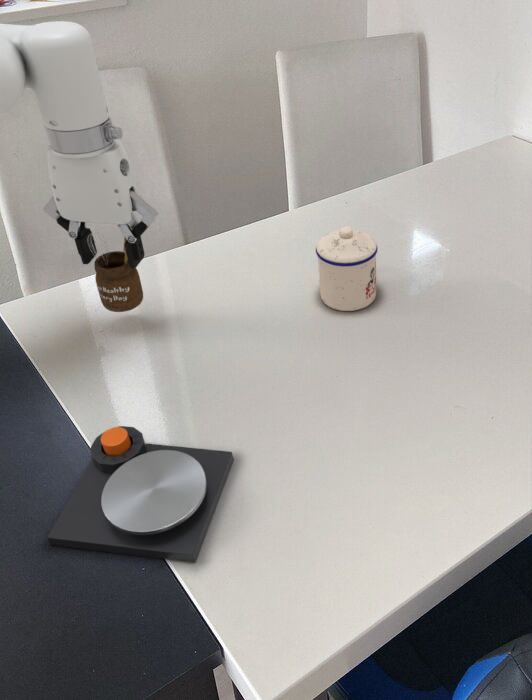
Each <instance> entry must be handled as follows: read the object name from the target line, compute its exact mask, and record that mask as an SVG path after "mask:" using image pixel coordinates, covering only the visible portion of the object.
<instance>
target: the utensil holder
mask: <svg viewBox="0 0 532 700" xmlns="http://www.w3.org/2000/svg"><path fill="white" fill-rule="evenodd" d="M90 234H91V235H92V236H93V239H97V237H96V235H98V236H99V237H101V240H102V242H103V243H102V246H103V247H104V251H103V249H102V247H101V246H98V244H97V241H94V242H95V246H96V248H97V249H98V251H99V252H100V254H101V255H98V252H97V253H95V252H96V251H95V252H94V253H95V254H97V255H96V256H95V255H94V254H93V255H94V256H95V257H94V258H96V259H95V260H94V265H93V266H94V267H93V268H94V272H95V284H96V288H97V292H98V295H99V298H100V302H101V304H102V306H103V307H104V309H106V310H107V311H110V312H113V313H125V312H128V311H132V310H134V309H136V308H137V307H139V306H140V305H141V304H142V302H143V300H144V291H143V286H142V281H141V278H140V274H139V271H138V269H137V267H136V268H131V267H130V266H129V262H128V258H127V254H126V250H125V246H124V244H125V242H126V241H127V239H126V237H125V236H124V235H123V237H124V238H123V249H122V251H120V250H116V251H115V250H114V251H110V248H109V246H108V242H107V240H106V239H105V237H104V235H103V234H102V233H101V232H98V231H93V232H92V233H90ZM95 234H96V235H95ZM88 237H89V235H88ZM88 240H89V239H87V242H88ZM89 243H90V242H89ZM91 243H92V242H91ZM88 245H89V244H88ZM92 246H93V245H92ZM105 246H106V247H105ZM89 247H90V246H89ZM91 248H92V247H91ZM93 248H94V247H93ZM106 249H107V251H106ZM90 250H91V249H90ZM94 250H95V249H94ZM94 250H93V251H94ZM91 252H92V251H91ZM104 252H105V253H104Z"/></svg>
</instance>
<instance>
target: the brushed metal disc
mask: <svg viewBox="0 0 532 700" xmlns="http://www.w3.org/2000/svg"><path fill="white" fill-rule="evenodd" d="M206 487H207V481H206V476H205V472H204V470H203V468H202V466H201V465H200V463H199V462H198V461H197V460H195V459H194V458H193V457H191V456H190V455H188V454H185V453H182V452H179V451H173V450H159V451H153V452H148V453H145V454H142V455H139V456H137V457H135V458H133V459H131V460H129V461H128V462H126V463H125V464H123V465H122V466H121V467H119V468H118V469H117V470H116V471H115V472H114V473H113V474H112V476H111V477H110V478H109V480H108V481H107V483H106V485H105V487H104V489H103V493H102V498H101V505H102V509H103V512H104V514H105V517H106V518H107V520H108V521H109V522H110V523H111V524H112V525H113V526H114V527H115V528H117V529H118V530H121V531H123V532H125V533H129V534H134V535H151V534H157V533H161V532H164V531H167V530H169V529H172V528H174V527H176V526H178V525H179V524H181V523H182V522H184V521H185V520H187V519H188V518H189V517H190V516H191V515H192V514H193V513H194V512H195V511H196V510H197V509H198V507H199V506H200V504H201V503H202V501H203V498H204V496H205V493H206Z"/></svg>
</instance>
